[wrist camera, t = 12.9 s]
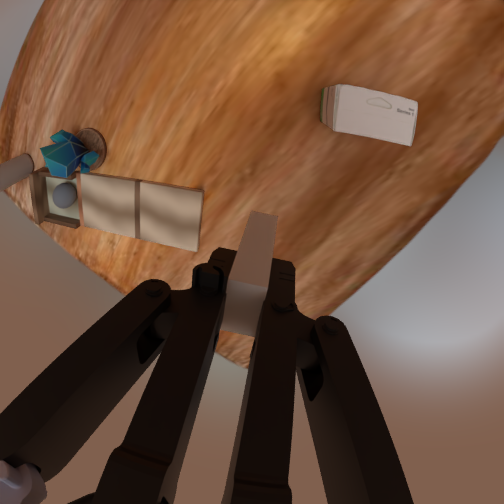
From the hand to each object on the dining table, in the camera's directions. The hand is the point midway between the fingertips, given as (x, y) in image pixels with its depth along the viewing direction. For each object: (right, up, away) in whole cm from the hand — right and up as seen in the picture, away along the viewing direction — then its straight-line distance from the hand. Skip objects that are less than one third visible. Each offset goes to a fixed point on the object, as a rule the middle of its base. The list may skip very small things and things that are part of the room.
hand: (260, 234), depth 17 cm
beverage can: (-44, +16, +26) cm, 54 cm away
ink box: (+13, +18, +17) cm, 27 cm away
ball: (-33, +9, +25) cm, 42 cm away
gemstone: (-27, +16, +24) cm, 39 cm away
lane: (-24, +7, +28) cm, 38 cm away
